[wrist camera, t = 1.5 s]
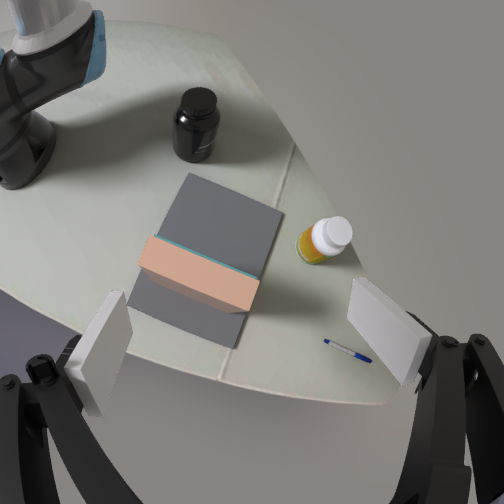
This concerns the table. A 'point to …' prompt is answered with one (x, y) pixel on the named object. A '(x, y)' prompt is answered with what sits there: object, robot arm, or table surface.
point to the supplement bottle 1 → (196, 125)
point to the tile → (197, 276)
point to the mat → (209, 254)
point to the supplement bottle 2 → (323, 240)
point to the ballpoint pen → (348, 351)
